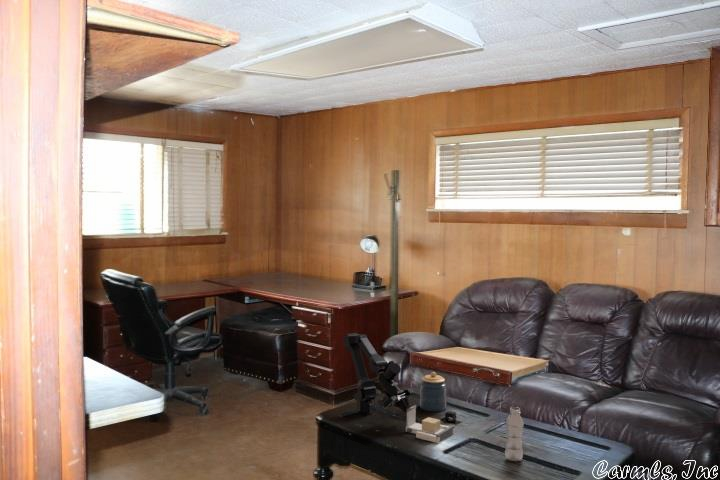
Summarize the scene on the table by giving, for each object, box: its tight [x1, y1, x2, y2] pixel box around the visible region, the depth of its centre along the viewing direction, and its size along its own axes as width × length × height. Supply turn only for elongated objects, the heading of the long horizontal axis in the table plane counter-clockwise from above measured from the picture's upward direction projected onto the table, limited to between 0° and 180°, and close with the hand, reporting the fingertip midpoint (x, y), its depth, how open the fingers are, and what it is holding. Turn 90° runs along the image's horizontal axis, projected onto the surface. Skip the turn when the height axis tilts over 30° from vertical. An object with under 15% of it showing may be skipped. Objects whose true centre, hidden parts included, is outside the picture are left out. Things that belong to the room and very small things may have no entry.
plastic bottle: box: [504, 406, 525, 462], centre depth 229 cm, size 6×7×20 cm
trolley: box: [405, 404, 445, 436], centre depth 258 cm, size 16×9×10 cm, turn 55°
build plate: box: [439, 410, 463, 426], centre depth 274 cm, size 12×7×5 cm, turn 51°
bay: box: [415, 424, 455, 444], centre depth 255 cm, size 10×14×3 cm
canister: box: [419, 371, 448, 412], centre depth 293 cm, size 13×13×18 cm
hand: (409, 414), depth 262 cm, fingers closed
